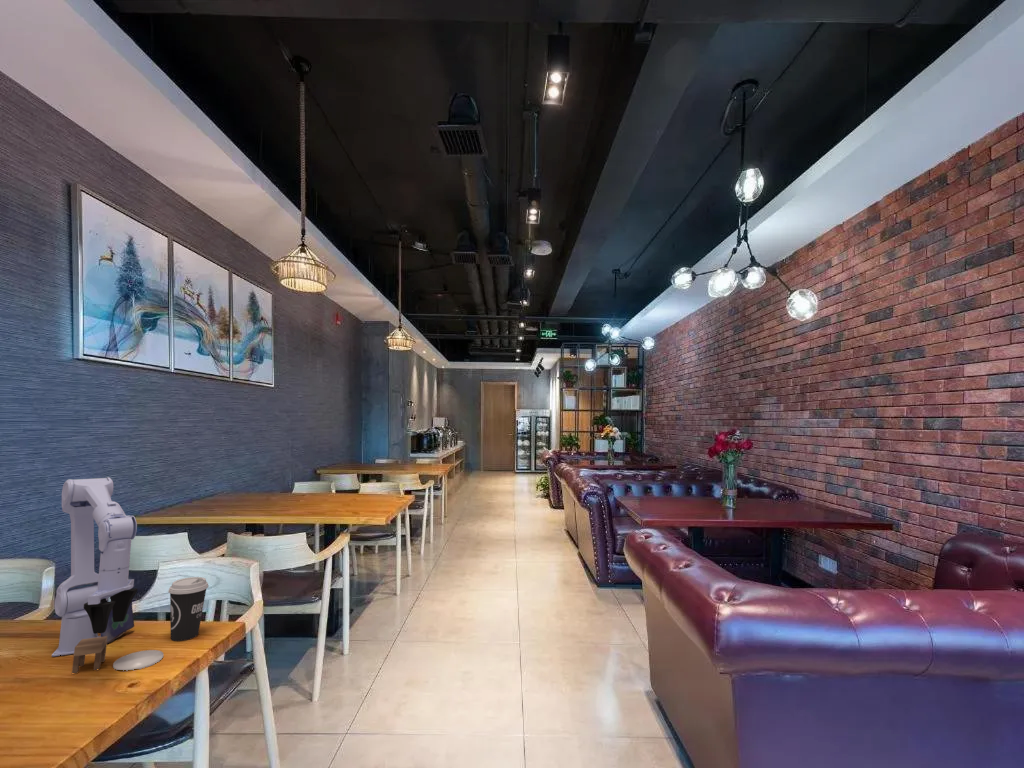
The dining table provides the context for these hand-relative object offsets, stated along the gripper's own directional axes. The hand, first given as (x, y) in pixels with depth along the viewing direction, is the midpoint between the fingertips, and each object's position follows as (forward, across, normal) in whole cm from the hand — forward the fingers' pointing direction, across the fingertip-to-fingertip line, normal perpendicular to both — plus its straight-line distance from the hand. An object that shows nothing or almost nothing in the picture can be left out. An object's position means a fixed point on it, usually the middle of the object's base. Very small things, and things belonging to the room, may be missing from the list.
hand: (109, 626), depth 117 cm
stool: (+10, +3, +5) cm, 12 cm away
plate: (+10, +5, -5) cm, 12 cm away
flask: (+9, +21, +9) cm, 24 cm away
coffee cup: (+10, +20, -9) cm, 24 cm away
